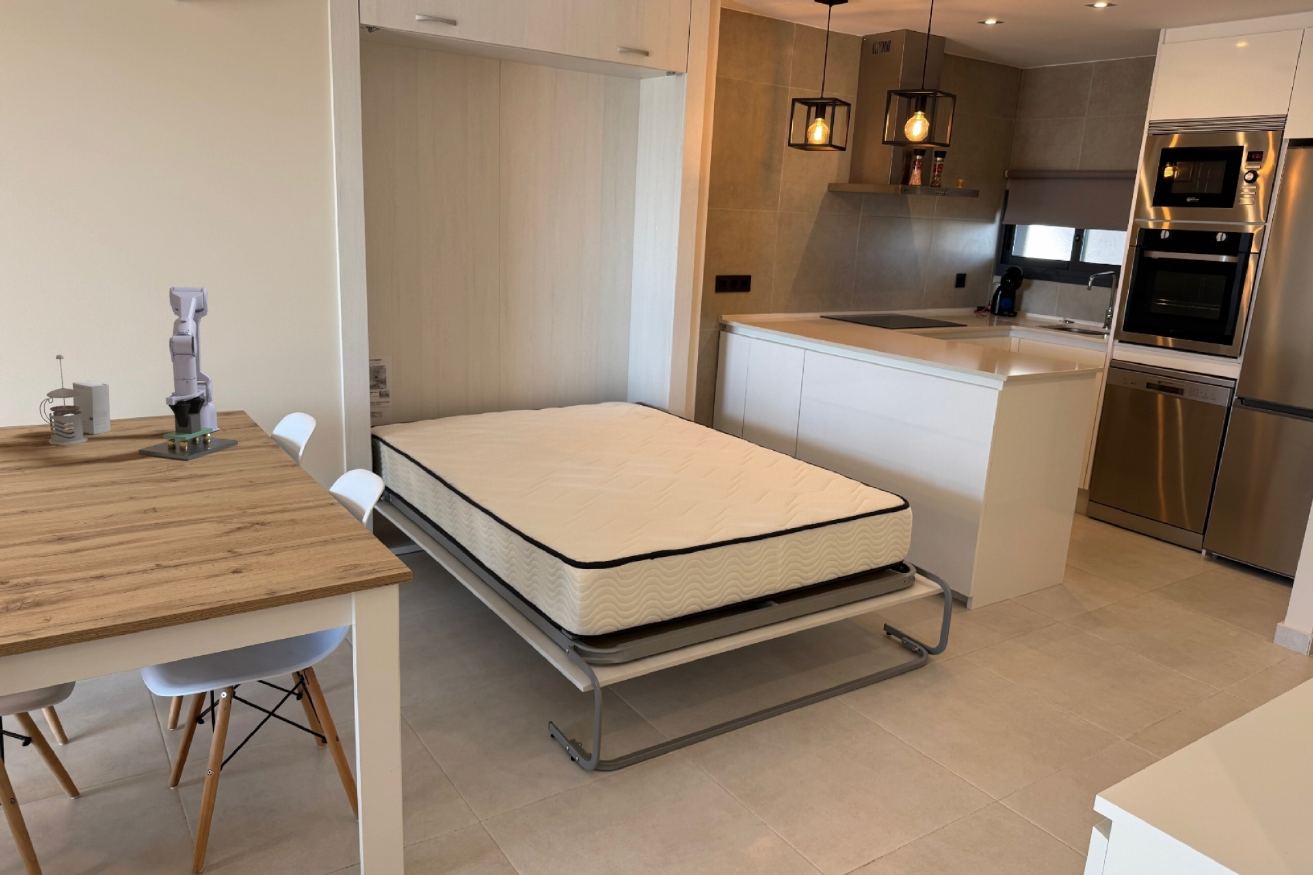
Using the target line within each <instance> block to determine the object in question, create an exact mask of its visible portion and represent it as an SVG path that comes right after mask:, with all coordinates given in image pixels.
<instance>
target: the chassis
mask: <svg viewBox="0 0 1313 875" xmlns="http://www.w3.org/2000/svg"><path fill="white" fill-rule="evenodd" d="M166 440H167V441H163V442H161V443H157V444H154V445H150V446H147V447H143V448H140V449H138V455H145V456H152V457H159V458H167V459H175V460H180V461H181V460H182V461H191V460H193V459H197V458H200V457H203V456H206V455H209V454H212V453H213V454H214V453H215V452H218V451H219V452H220V451H221V450H222V451H223V450H224V449H229V448H232V447H234V446H238V444H239V442H238V440H236V439H229V438H228V439H227V438H219V437H211V432H210V433H205V434H202V435H200V436H197V437H194V438H191V439H188V440H180V439H171V438H166Z"/></svg>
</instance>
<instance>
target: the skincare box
mask: <svg viewBox="0 0 1313 875" xmlns="http://www.w3.org/2000/svg"><path fill="white" fill-rule="evenodd" d="M72 390H76V391H78V392H79V393H80V395H79V396H77V397H72V400H73V402H72V403H73V405H75V406H79V407H80V408H79V409H78V410H75V411H80V412H81V416H82V427H83V434H91V435H99V434H103V433H109V432H111V410H110V386H109V384H107V383H103V382H100V381H93V380H84V381H75V382H72ZM73 415H75V414H73Z"/></svg>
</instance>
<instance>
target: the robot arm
mask: <svg viewBox="0 0 1313 875" xmlns="http://www.w3.org/2000/svg"><path fill="white" fill-rule="evenodd" d="M168 295H169V296H168V298H169V304H170V306H171V310H172V312H173V314H174V316H176V317H177V316H178V317H177V318H176V319H175V320H174V322H173V327H172V328H173V329H172V337H169V339H168V342H169V343H168V347H169V352H170V360H171V363H172V372H173V373H172V374H173V386H174V391H173V392H171V395H170V396H169V395H168V396H167V397H165V405H166V406H168V407H169V408H170V409H171V411H172V413H173V414H174V418H175V417H176V419H177V422H178V425H179V427H187V424H188V413H197V414H200V424H201V427H206V428H213V431H211V432H208V433H210V434H211V433H213V432H216V431H217V432H218V431H219V430H220V429H221V428H219V427H218V416H217V409H216V406H215V404H213V402H212V401H213V399H214V398H213V397H214V393H213V392H214V391H213V390H214V389H213V382H212V380H213V379H212V378H211V376H209V375H207V374H206V373H205V372H203V371H202V359H201V358H202V355H201V354H202V353H201V328H200V326H201V321H202V318H203V317H206V316H207V315H208V312H209V296H208V289H207V288H206V287H205V286H204V287H194V286H192V287H186V286H184V287H183V286H171V287H170V288H169V292H168ZM199 436H201V435H199Z"/></svg>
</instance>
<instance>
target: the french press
mask: <svg viewBox="0 0 1313 875" xmlns="http://www.w3.org/2000/svg"><path fill="white" fill-rule="evenodd" d="M55 359H56V360H59V365H60V367H59V368H60V375H61V388H57V389H54V390H50V391H49V392H48V393H46V396H47V398H45V399H43V400H42V401H41V402H40V405H39V414H40V417H41V418H42V419H43V420H44V422H46V423H48V424H49V427H50V437H51V438H50V439H49V440H47V443H48V442H49V443H50V444H49V443H48V444H49V445H53V444H59V445H58V446H67V445H68V446H70V445H71V444H72V445H78V444H82V443H86V442H87V441H89V439H88V438H87V437H85V436H84V433H83V427H82V416H81V412H80V411H75V410H78V409H79V408H80V407H79V406H75V405H74V404H72V405H71V404H70V405H69V404H68V405H67V404H66V400H65V399H70V398H73V397H77V396H79V395H80V393H79V392H78V391H76V390H73V388H65V387H64V380H63V379H64V378H63V369H62V360H64V359H65V357H64V355H63V354H57V355H56V357H55ZM50 399H51V402H50ZM54 399H63V405H57V406H52V407H50V408H49V410H50V411H51V412H50V413H48V416H49V417H48V416H47V413H46V409H45V408H46V407H45V406H46V403H47V402H48V403H49V404H52V403H54ZM42 405H43V412H44V414H45V416H46V418H47V420H49V421H47V420H46V419H45V418H44V417H43V415H42V410H41V409H42V408H41V407H42ZM52 414H53V415H52ZM74 414H75V415H74ZM66 424H67V425H66Z"/></svg>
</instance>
